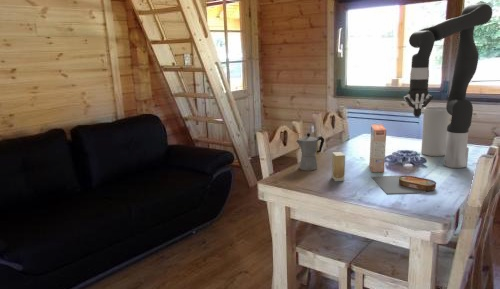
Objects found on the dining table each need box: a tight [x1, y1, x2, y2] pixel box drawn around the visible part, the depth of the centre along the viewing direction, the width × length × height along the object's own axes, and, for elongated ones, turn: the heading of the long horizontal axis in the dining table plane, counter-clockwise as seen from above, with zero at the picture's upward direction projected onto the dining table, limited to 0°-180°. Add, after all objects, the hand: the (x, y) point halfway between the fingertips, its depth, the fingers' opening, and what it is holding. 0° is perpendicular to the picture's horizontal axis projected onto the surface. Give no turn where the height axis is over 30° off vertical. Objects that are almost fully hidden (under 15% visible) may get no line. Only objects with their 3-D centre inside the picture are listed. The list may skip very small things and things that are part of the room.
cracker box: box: [369, 124, 387, 173], centre depth 193 cm, size 14×6×21 cm, turn 168°
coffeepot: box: [296, 132, 325, 171], centre depth 199 cm, size 15×9×18 cm, turn 110°
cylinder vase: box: [421, 106, 451, 157], centre depth 214 cm, size 12×12×25 cm
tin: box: [399, 175, 437, 192], centre depth 168 cm, size 15×3×8 cm
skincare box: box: [331, 151, 346, 182], centre depth 181 cm, size 6×4×12 cm
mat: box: [371, 174, 428, 195], centre depth 172 cm, size 16×22×1 cm
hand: (416, 116), depth 179 cm, fingers closed
